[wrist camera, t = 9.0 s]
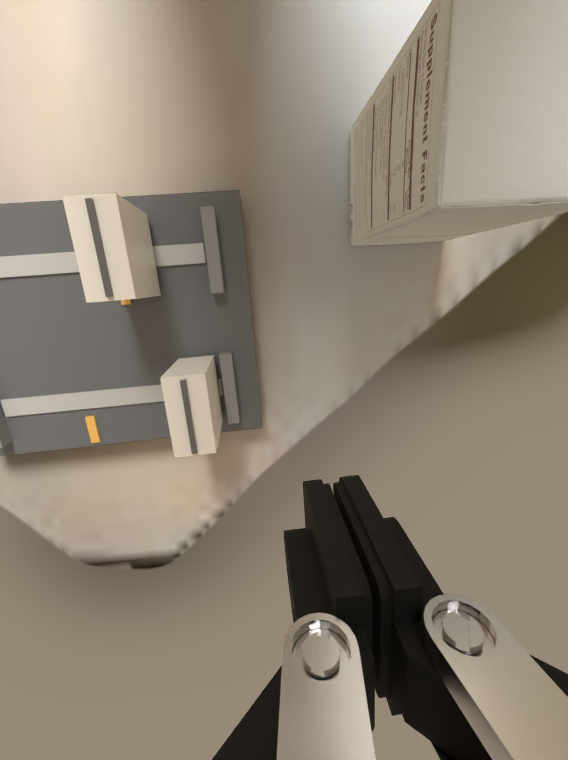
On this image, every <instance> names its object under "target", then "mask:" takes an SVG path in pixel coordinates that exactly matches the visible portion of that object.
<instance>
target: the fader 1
mask: <svg viewBox="0 0 568 760" xmlns="http://www.w3.org/2000/svg"><path fill="white" fill-rule="evenodd" d="M62 199H63V203H64V207H65V212H66V216H67V220H68V225H69V229H70V233H71V238H72V242H73V246H74V251H75V255H76V259H77V264H78V268H79V272H80V277H81V281H82V285H83V290H84V294H85V298H86V303H90V302H103V301H115V300H128V299H139V298H146V297H154V296H161V293H160V287H159V282H158V276H157V270H156V264H155V258H154V252H153V246H152V240H151V235H150V229H149V223H148V217H147V214H146V213H145V212H143V211H142V210H140V209H139V208H137V207H136V206H134V205H133V204H131V203H130V202H128V201H127V200H125V199H124V198H122V197H121V196H119V195H118V194H116V193H106V194H88V195H70V196H62Z"/></svg>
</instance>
